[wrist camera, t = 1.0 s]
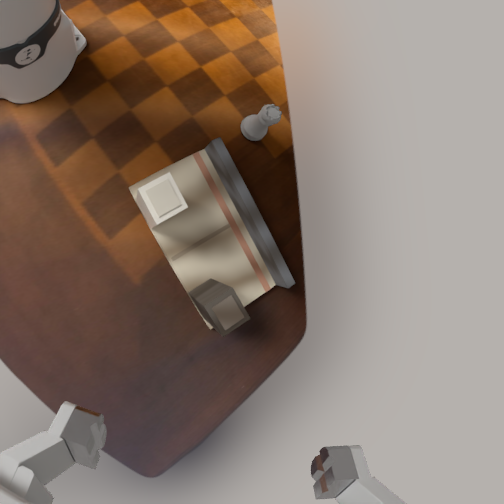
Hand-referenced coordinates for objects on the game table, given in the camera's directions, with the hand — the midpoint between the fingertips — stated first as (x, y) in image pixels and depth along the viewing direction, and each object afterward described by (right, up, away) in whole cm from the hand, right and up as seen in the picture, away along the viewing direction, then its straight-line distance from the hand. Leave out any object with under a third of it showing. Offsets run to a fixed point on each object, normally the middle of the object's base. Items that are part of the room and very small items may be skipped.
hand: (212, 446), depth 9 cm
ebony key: (-5, 0, +35) cm, 35 cm away
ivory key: (-12, +13, +32) cm, 36 cm away
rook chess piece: (+1, +27, +38) cm, 47 cm away
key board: (-5, +9, +36) cm, 38 cm away
